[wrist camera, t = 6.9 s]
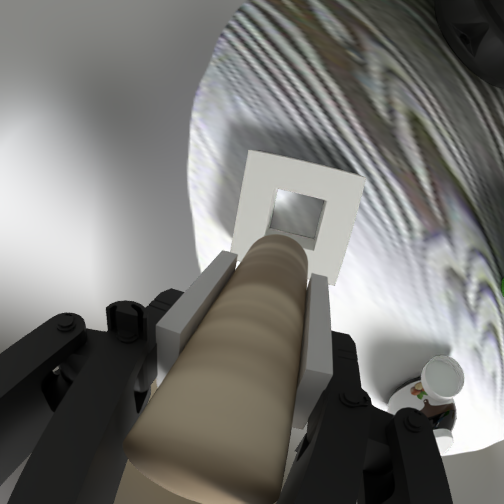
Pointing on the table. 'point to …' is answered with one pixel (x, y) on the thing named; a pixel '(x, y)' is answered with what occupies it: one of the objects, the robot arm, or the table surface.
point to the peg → (231, 387)
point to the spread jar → (433, 397)
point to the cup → (502, 287)
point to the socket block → (306, 183)
